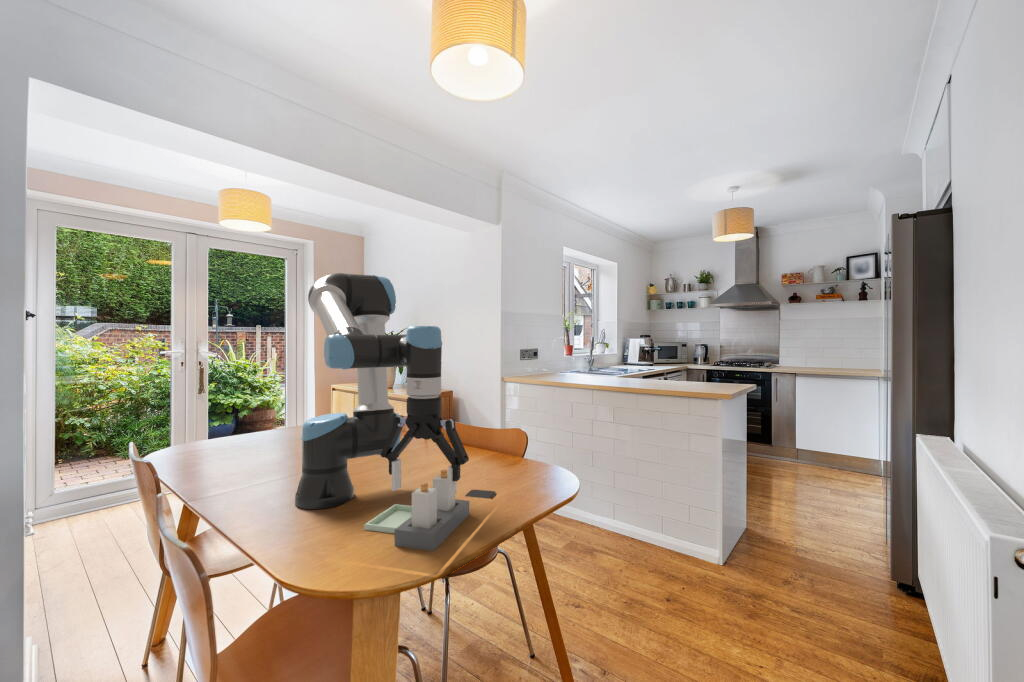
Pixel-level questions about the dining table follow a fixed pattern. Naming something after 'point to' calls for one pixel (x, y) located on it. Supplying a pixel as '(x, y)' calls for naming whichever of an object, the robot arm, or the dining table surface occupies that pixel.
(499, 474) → the dining table surface
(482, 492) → the smartphone
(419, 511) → the plug
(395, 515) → the tray
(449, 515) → the gray block holder
